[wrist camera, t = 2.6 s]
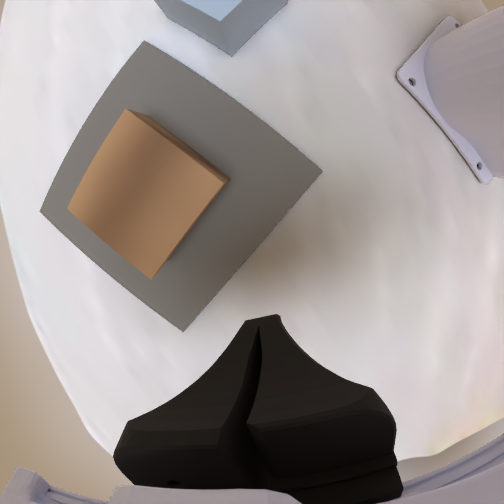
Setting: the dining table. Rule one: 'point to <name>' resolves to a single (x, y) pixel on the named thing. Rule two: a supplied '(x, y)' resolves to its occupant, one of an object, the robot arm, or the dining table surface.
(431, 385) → the dining table surface
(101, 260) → the letter mat
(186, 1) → the blue cube
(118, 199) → the walnut block
